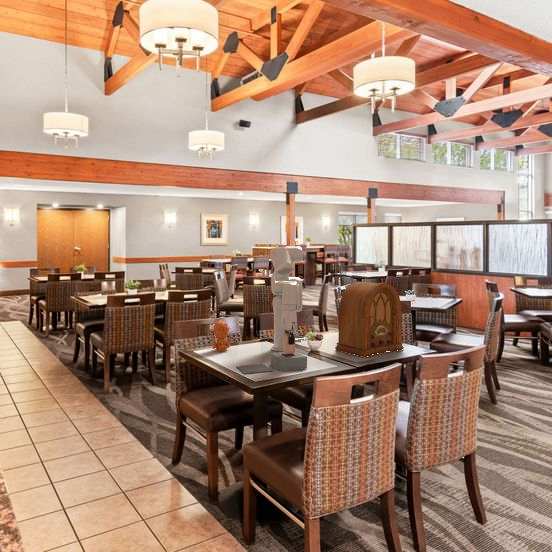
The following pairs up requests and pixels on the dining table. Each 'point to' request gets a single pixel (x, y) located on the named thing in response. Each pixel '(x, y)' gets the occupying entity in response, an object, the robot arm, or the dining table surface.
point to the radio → (369, 319)
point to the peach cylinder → (287, 347)
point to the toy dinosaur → (221, 336)
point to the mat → (254, 368)
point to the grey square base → (288, 361)
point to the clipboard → (295, 337)
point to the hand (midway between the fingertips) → (289, 342)
